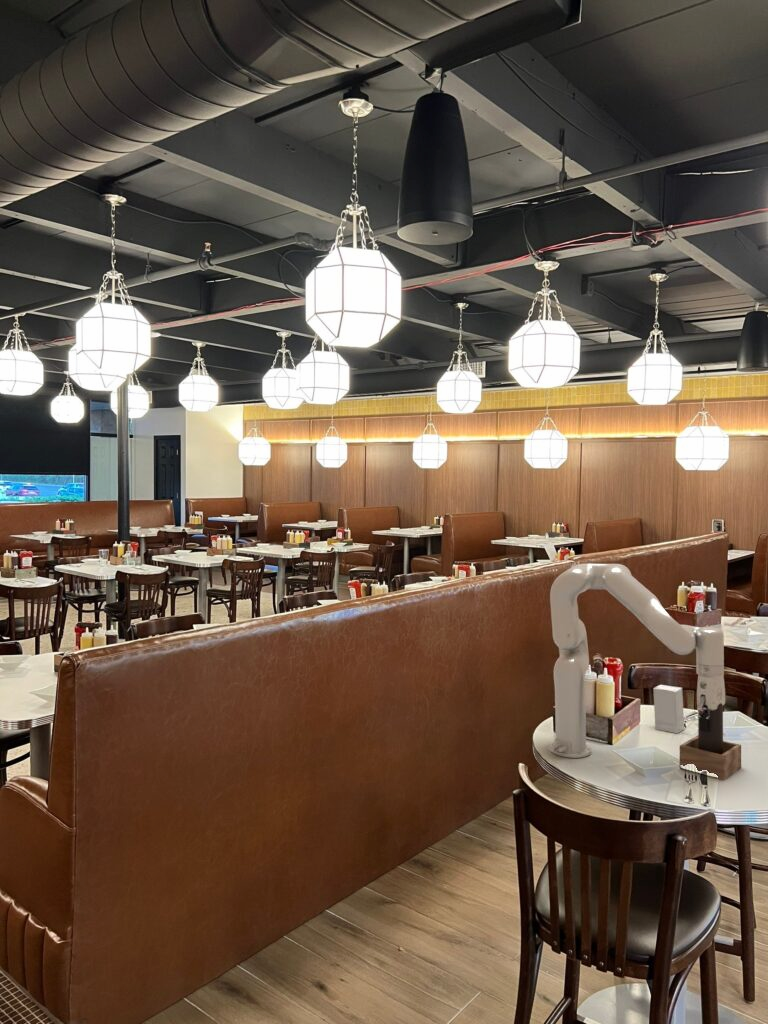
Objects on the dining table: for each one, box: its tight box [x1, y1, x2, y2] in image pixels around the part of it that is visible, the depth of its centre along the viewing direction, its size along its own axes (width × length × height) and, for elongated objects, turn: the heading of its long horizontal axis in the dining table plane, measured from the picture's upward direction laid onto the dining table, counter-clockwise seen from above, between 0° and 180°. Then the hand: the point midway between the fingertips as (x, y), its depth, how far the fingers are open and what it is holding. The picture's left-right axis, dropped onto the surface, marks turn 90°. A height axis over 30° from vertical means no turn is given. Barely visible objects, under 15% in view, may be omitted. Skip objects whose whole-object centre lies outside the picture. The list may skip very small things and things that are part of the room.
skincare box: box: [653, 684, 685, 734], centre depth 260 cm, size 8×6×15 cm
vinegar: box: [697, 703, 724, 755], centre depth 224 cm, size 7×7×20 cm
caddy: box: [679, 734, 742, 781], centre depth 224 cm, size 13×13×7 cm
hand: (710, 728), depth 224 cm, fingers closed on vinegar, 6 cm apart
